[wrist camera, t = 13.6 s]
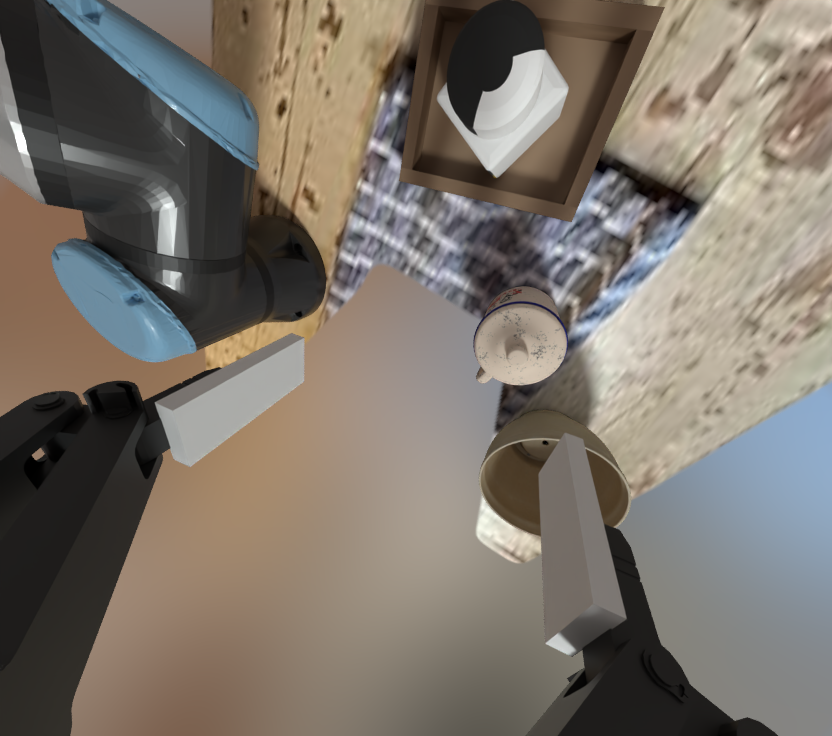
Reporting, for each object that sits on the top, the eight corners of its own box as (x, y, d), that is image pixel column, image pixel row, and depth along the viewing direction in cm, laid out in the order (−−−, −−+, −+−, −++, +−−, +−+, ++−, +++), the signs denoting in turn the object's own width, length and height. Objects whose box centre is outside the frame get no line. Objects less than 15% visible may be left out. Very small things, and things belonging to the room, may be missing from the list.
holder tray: (410, 183, 34) (399, 180, 31) (439, 7, 27) (428, -18, 24) (567, 221, 31) (571, 222, 28) (647, 32, 24) (664, 7, 21)
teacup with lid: (514, 268, 35) (508, 289, 25) (577, 312, 35) (597, 351, 25) (457, 343, 41) (436, 383, 31) (511, 380, 41) (505, 432, 31)
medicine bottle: (453, 120, 29) (414, 71, 19) (515, 43, 26) (507, -66, 16) (495, 180, 30) (480, 164, 20) (561, 115, 27) (582, 56, 17)
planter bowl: (567, 367, 38) (579, 416, 29) (631, 456, 40) (661, 527, 31) (467, 416, 46) (452, 466, 37) (526, 487, 49) (525, 550, 40)
